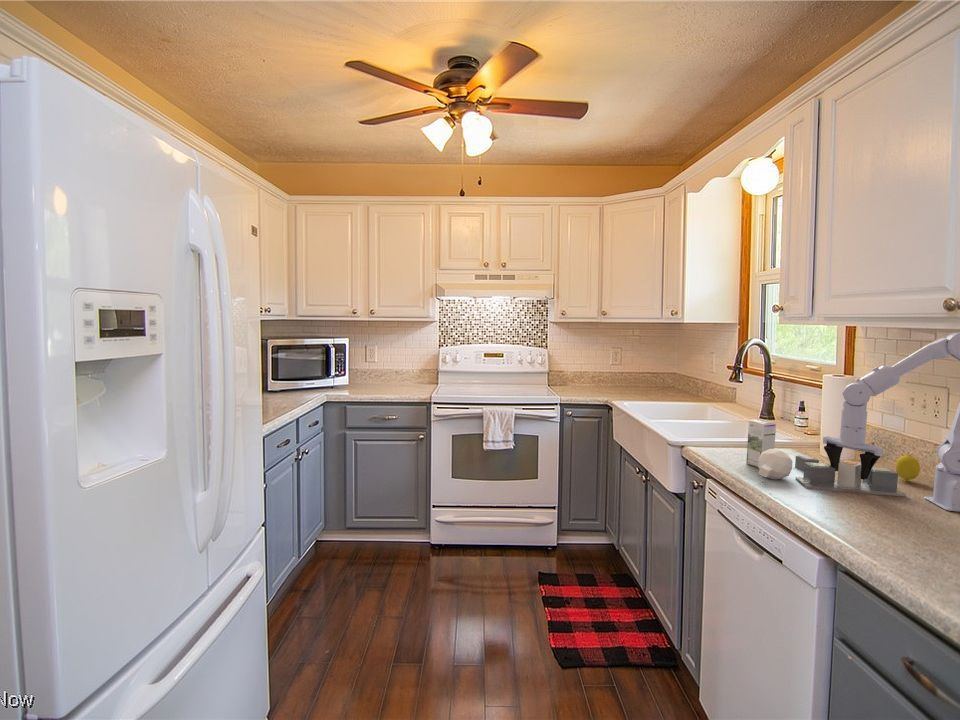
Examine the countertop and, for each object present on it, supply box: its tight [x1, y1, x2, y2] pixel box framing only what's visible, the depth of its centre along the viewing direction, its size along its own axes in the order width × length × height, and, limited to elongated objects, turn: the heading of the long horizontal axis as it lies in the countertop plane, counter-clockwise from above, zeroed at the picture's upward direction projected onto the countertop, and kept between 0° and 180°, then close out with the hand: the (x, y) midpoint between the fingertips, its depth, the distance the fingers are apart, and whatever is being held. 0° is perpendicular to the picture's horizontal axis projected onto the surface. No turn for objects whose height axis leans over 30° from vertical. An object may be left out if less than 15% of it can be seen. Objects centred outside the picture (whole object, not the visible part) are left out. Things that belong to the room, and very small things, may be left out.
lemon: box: [895, 454, 921, 482], centre depth 153 cm, size 6×6×8 cm
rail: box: [794, 462, 907, 498], centre depth 146 cm, size 8×24×6 cm, turn 77°
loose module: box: [837, 459, 862, 488], centre depth 147 cm, size 4×5×6 cm
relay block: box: [794, 455, 820, 473], centre depth 163 cm, size 5×4×4 cm
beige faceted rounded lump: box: [757, 448, 793, 480], centre depth 152 cm, size 9×9×12 cm
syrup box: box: [746, 418, 777, 468], centre depth 166 cm, size 6×6×14 cm
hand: (849, 474), depth 146 cm, fingers open, 7 cm apart
